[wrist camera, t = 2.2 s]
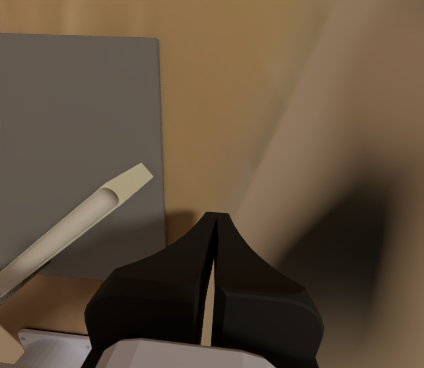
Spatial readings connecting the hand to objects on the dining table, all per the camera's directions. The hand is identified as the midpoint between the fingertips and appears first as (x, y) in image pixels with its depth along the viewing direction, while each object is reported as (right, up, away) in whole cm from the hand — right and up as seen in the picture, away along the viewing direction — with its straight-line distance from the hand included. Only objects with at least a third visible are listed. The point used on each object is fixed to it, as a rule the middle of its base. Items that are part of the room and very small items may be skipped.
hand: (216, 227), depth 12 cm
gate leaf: (-9, 0, +3) cm, 10 cm away
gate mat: (-12, +3, +3) cm, 12 cm away
